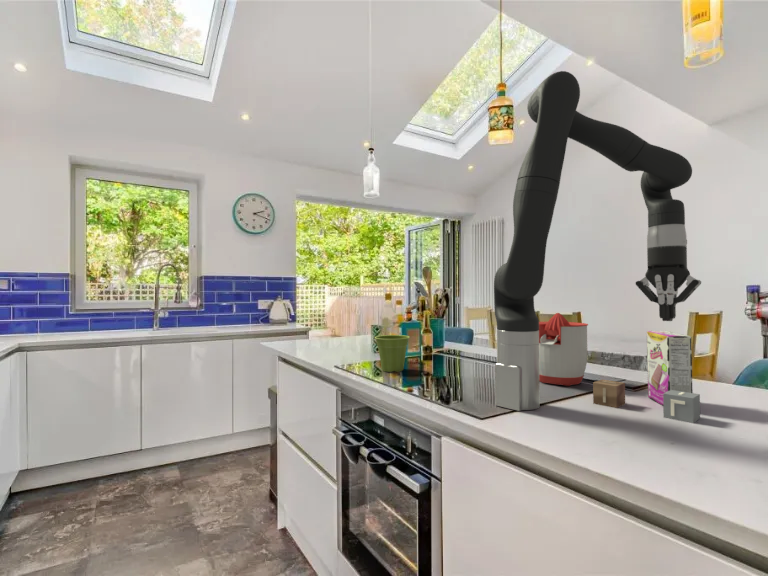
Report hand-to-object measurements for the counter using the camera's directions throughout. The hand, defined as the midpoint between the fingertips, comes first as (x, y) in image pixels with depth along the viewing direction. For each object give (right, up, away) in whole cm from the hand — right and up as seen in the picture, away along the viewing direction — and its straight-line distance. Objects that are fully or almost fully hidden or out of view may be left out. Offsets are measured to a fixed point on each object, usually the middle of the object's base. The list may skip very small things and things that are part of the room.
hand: (667, 320), depth 94 cm
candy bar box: (0, -19, 0) cm, 19 cm away
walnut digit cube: (-13, -19, 0) cm, 24 cm away
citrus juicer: (-16, -20, +23) cm, 34 cm away
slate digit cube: (-4, -19, -10) cm, 22 cm away
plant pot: (-63, -20, +42) cm, 78 cm away
